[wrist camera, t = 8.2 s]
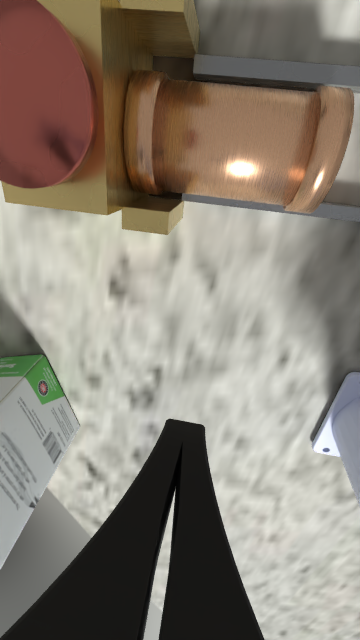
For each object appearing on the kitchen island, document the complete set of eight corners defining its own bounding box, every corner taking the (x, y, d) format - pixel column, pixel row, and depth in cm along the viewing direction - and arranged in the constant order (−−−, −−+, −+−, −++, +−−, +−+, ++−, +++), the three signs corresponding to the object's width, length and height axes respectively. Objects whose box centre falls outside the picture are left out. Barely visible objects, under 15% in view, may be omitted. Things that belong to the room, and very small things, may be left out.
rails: (463, 82, 11) (482, 75, 11) (397, 223, 14) (408, 227, 13) (196, 61, 12) (194, 54, 12) (184, 198, 15) (181, 200, 14)
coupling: (335, 89, 12) (373, 86, 8) (299, 198, 15) (318, 228, 11) (150, 73, 13) (117, 64, 9) (150, 180, 15) (124, 203, 12)
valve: (200, 30, 12) (164, -134, 5) (182, 217, 16) (149, 256, 9) (2, 17, 13) (-241, -141, 6) (31, 198, 16) (-101, 221, 10)
